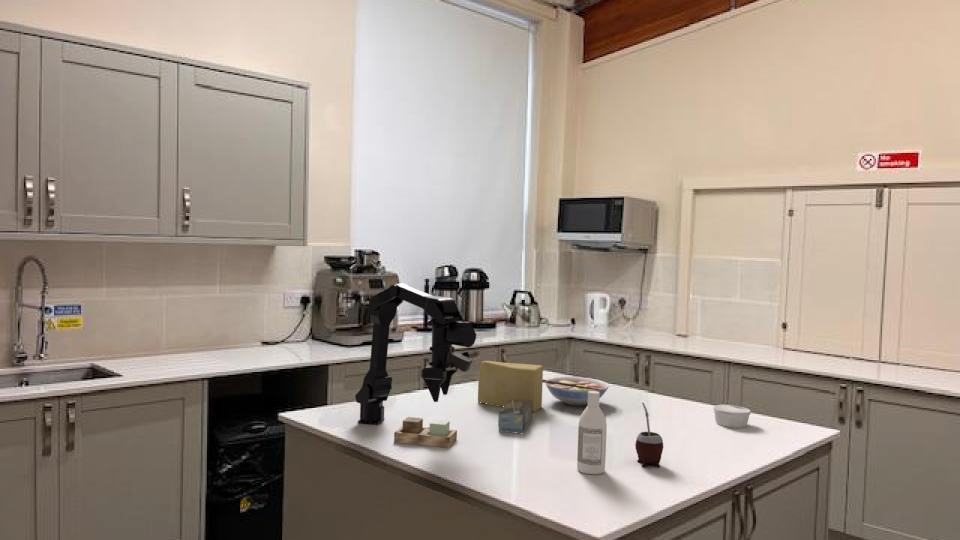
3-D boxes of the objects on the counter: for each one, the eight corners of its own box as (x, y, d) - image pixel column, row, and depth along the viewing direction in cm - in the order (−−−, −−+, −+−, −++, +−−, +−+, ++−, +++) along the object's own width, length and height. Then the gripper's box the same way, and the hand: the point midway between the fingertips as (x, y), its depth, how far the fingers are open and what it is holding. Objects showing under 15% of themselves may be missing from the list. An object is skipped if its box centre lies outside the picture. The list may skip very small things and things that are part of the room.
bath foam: (586, 464, 179) (589, 387, 179) (609, 470, 175) (612, 392, 174) (571, 470, 174) (574, 391, 173) (595, 477, 170) (598, 396, 169)
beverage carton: (496, 432, 207) (497, 410, 207) (508, 416, 226) (508, 396, 226) (523, 434, 206) (523, 412, 205) (532, 418, 224) (533, 398, 224)
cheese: (472, 405, 239) (474, 362, 238) (483, 399, 248) (484, 358, 247) (534, 413, 231) (535, 368, 230) (542, 407, 240) (544, 364, 239)
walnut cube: (402, 436, 195) (402, 420, 195) (407, 432, 199) (407, 416, 199) (417, 438, 194) (417, 422, 194) (422, 433, 198) (422, 418, 198)
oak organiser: (394, 442, 194) (394, 432, 193) (403, 434, 201) (403, 425, 201) (449, 447, 190) (449, 437, 190) (456, 439, 198) (456, 430, 198)
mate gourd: (654, 470, 176) (657, 412, 175) (626, 463, 181) (629, 406, 180) (667, 464, 181) (670, 407, 181) (640, 457, 187) (642, 402, 186)
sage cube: (444, 440, 192) (445, 424, 192) (429, 439, 193) (429, 423, 193) (449, 436, 196) (449, 420, 196) (433, 435, 197) (434, 419, 197)
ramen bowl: (621, 403, 249) (622, 380, 249) (596, 415, 230) (596, 391, 229) (558, 392, 262) (559, 371, 262) (529, 404, 243) (530, 381, 243)
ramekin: (755, 425, 224) (756, 409, 224) (741, 431, 216) (742, 414, 216) (721, 418, 232) (722, 402, 232) (707, 424, 224) (707, 407, 223)
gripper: (461, 349, 183) (459, 408, 183) (477, 340, 201) (476, 393, 202) (421, 347, 185) (419, 404, 186) (440, 337, 203) (439, 390, 204)
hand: (440, 398), depth 194 cm, fingers open, 9 cm apart
